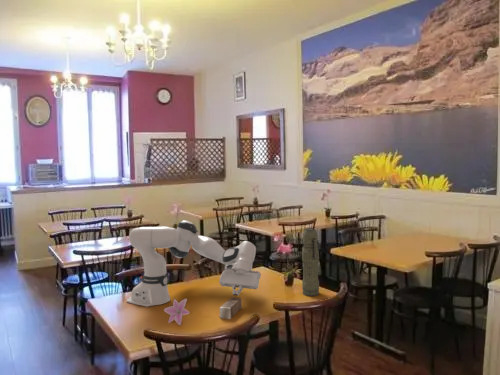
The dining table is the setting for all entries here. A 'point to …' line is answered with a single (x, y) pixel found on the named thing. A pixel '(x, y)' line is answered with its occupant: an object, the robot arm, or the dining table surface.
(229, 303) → the grey rectangular block
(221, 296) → the dining table surface
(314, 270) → the thermos
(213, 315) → the dining table surface
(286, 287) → the dining table surface
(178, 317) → the lily
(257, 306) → the dining table surface
